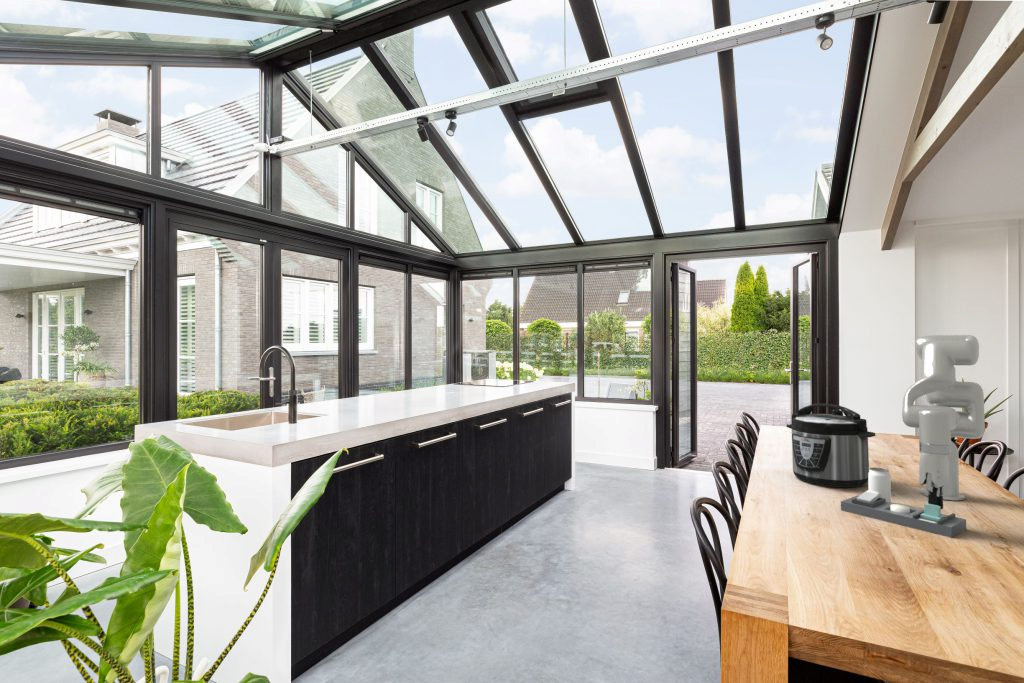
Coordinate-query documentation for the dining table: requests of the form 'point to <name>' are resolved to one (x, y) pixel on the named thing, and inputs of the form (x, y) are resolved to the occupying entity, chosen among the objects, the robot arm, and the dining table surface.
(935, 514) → the teal slide switch
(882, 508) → the control panel
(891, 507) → the push button
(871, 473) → the can
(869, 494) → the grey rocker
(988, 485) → the dining table surface
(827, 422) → the pressure cooker
